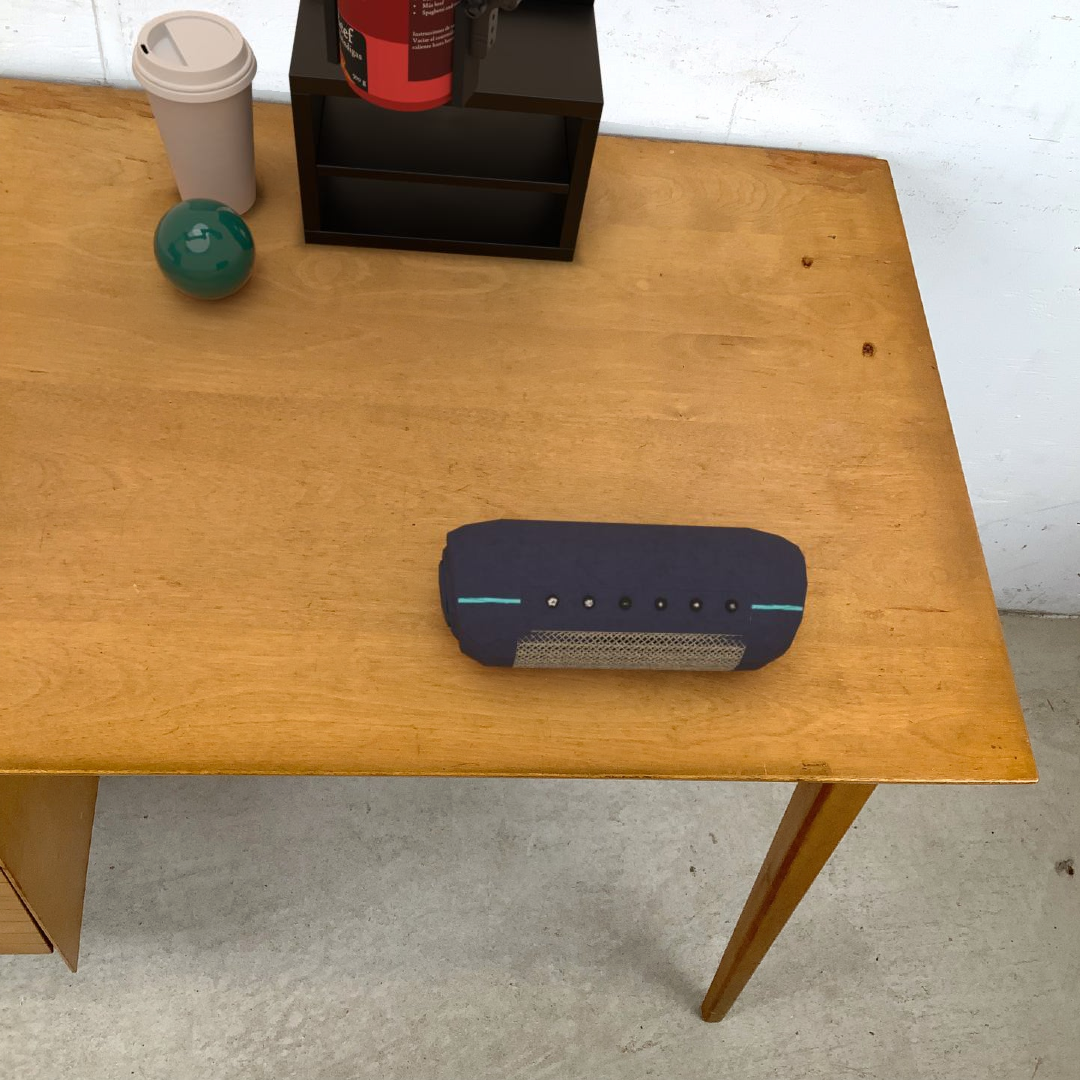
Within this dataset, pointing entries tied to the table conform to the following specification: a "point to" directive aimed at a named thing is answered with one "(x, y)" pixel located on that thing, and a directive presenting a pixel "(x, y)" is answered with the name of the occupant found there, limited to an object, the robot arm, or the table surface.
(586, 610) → the portable speaker
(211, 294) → the sphere
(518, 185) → the rack
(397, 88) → the canned food
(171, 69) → the coffee cup
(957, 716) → the table surface
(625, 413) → the table surface
